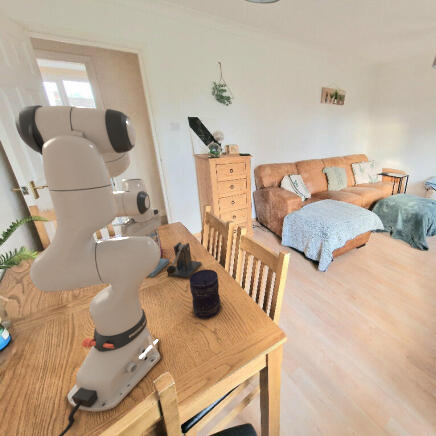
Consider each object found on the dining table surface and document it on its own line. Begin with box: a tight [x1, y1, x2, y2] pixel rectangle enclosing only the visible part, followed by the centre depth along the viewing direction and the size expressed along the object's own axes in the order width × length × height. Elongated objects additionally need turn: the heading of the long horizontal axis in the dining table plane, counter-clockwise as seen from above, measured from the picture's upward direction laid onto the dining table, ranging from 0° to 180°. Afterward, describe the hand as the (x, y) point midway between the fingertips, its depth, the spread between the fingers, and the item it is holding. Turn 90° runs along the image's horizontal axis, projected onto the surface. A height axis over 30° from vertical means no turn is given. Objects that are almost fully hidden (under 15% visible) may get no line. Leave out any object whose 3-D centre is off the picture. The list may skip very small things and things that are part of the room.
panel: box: [147, 257, 170, 278], centre depth 113 cm, size 12×10×4 cm
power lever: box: [165, 243, 185, 274], centre depth 106 cm, size 14×4×4 cm, turn 171°
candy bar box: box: [150, 227, 163, 258], centre depth 123 cm, size 11×5×16 cm, turn 25°
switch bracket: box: [167, 241, 202, 280], centre depth 112 cm, size 12×10×14 cm
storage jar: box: [188, 269, 221, 320], centre depth 89 cm, size 10×10×15 cm
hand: (146, 243), depth 108 cm, fingers closed
